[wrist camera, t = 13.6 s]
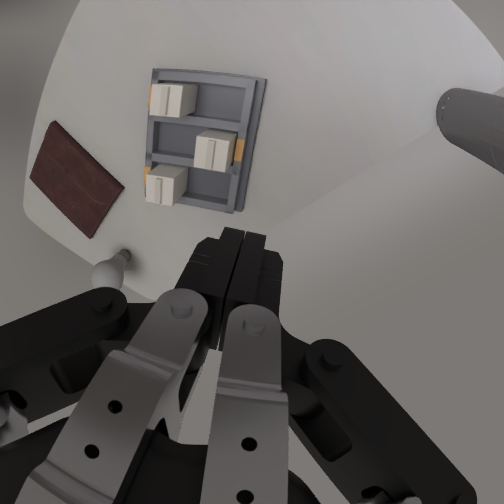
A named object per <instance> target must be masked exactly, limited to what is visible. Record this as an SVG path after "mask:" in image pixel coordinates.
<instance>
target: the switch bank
mask: <svg viewBox="0 0 504 504" xmlns="http://www.w3.org/2000/svg"><path fill="white" fill-rule="evenodd" d="M159 83H187V84H199V85H198V92H197V99H196V106H195V112H193V113H190V114H188V115H185V116H182V117H180V118H177V117H167V116H155V115H149V113H150V102H151V91H152V84H159ZM265 85H266V79H262V78H256V77H250V76H243V75H236V74H228V73H219V72H209V71H197V70H181V69H153V72H152V80H151V86H150V91H149V101H148V107H149V111H148V123H147V139H146V162H145V168H144V185H145V197H146V174H147V173H149V172H150V171H151V170H153V169H154V168H155V167H157V166H158V165H160V164H161V163H162V162H163V163H169V164H176V165H183V166H189V169H188V181H187V190H186V191H185V192H184V194H183V195H182V196H181V197H180V198H179V199H178V200H177V202H176V203H180V204H185V205H191V206H196V207H201V208H206V209H211V210H216V211H221V212H225V213H230V214H233V213H234V211H239V212H242V209H243V204H244V199H245V193H246V187H247V182H248V176H249V170H250V165H251V159H252V154H253V148H254V143H255V137H256V132H257V127H258V121H259V116H260V111H261V105H262V100H263V95H264V90H265ZM209 128H214V129H221V130H227V131H233V132H239V133H238V139H237V143H236V149H235V155H234V160H233V162H232V163H231V165H230V166H229V167H228V169H227V170H226V171H225V172H220V171H214V170H208V169H203V168H197V167H193V166H194V156H195V147H196V138H197V135H199V134H201V133H202V132H204V131H206V130H207V129H209Z"/></svg>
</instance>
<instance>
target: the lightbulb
mask: <svg viewBox="0 0 504 504" xmlns="http://www.w3.org/2000/svg"><path fill="white" fill-rule="evenodd" d="M129 260H130V254H129V253H128V252H127V251H126V250H121V251H120V252H119V253H118V254H117V255H114V256H113V257H112V258H111V259H109V260H105V261H101V262H99V263H98V264H96V265H95V266H94V268H93V270H92V272H91V283H92V285H93V287H94V289H95V288H99V287H112V288H115V289H118V290H120V288H121V286H122V284H123V278H124V274H123V273H124V270H125V268H126V266H127V263H128V261H129Z"/></svg>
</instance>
